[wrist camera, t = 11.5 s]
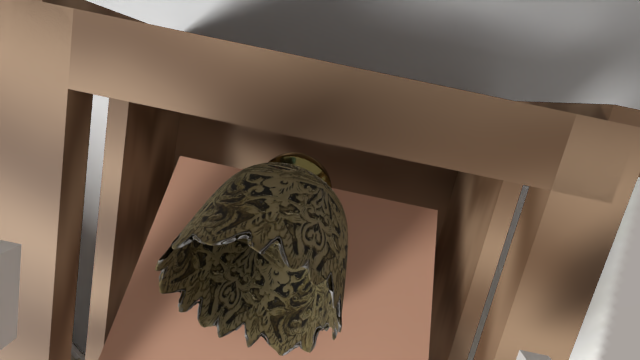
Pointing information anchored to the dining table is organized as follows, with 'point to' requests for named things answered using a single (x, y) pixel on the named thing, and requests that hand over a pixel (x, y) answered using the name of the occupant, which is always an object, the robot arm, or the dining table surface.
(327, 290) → the cup
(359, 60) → the dining table surface
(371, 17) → the dining table surface
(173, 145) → the wooden slatted crate
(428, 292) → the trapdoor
